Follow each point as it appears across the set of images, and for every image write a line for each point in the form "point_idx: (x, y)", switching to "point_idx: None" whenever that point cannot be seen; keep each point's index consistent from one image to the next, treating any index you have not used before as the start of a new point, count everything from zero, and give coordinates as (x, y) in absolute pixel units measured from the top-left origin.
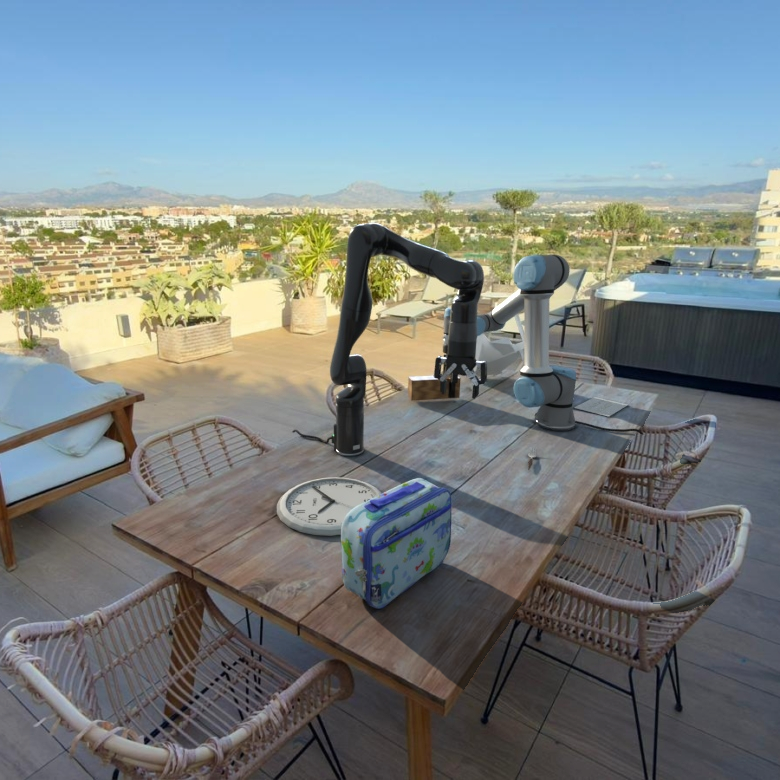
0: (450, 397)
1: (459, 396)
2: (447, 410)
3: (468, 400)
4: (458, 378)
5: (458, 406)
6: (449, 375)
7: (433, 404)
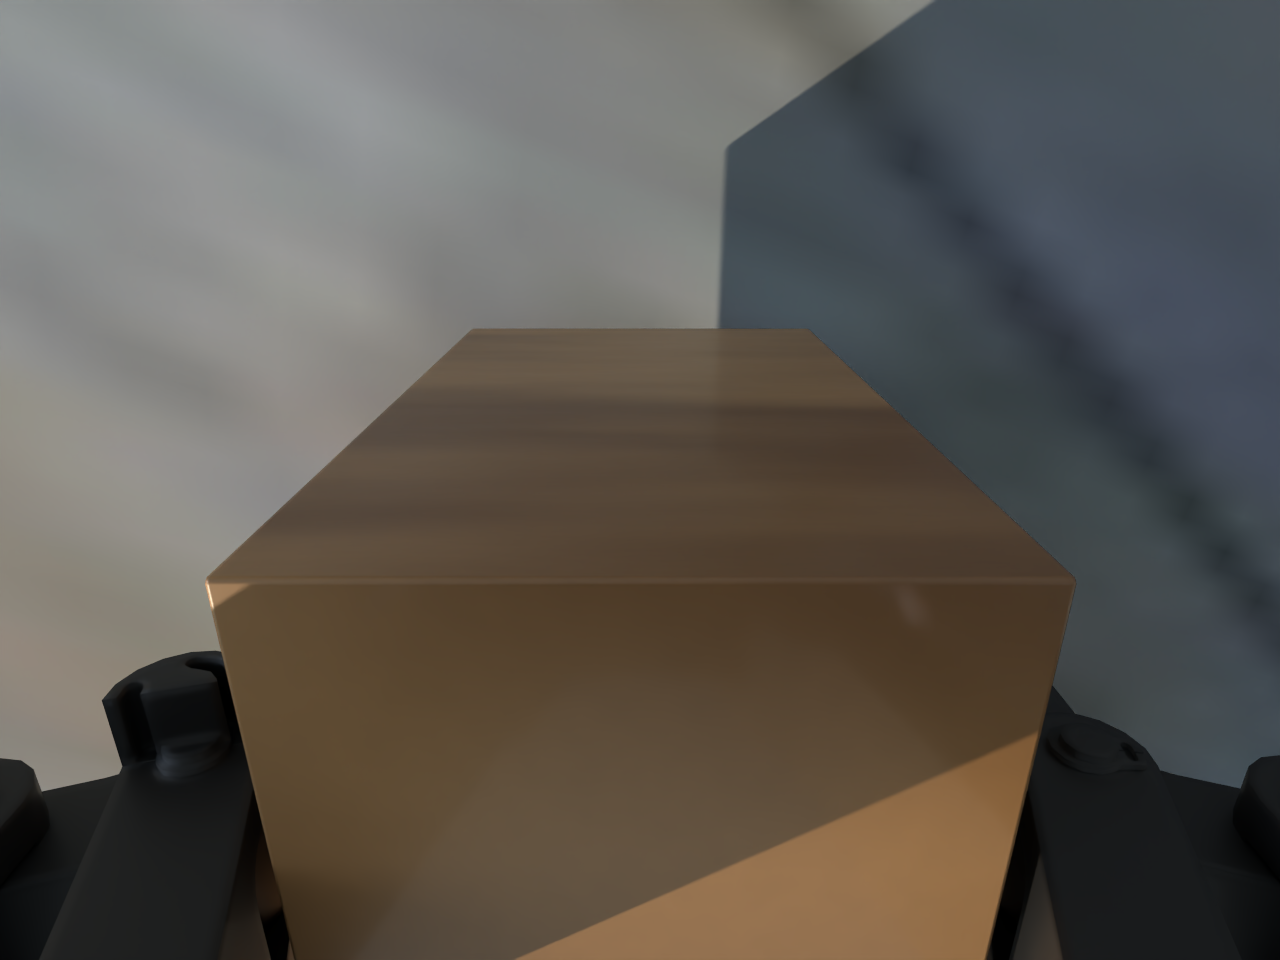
0: None
1: (814, 336)
2: (1210, 691)
3: (782, 53)
4: (1044, 686)
5: (1095, 441)
6: (403, 933)
7: None
